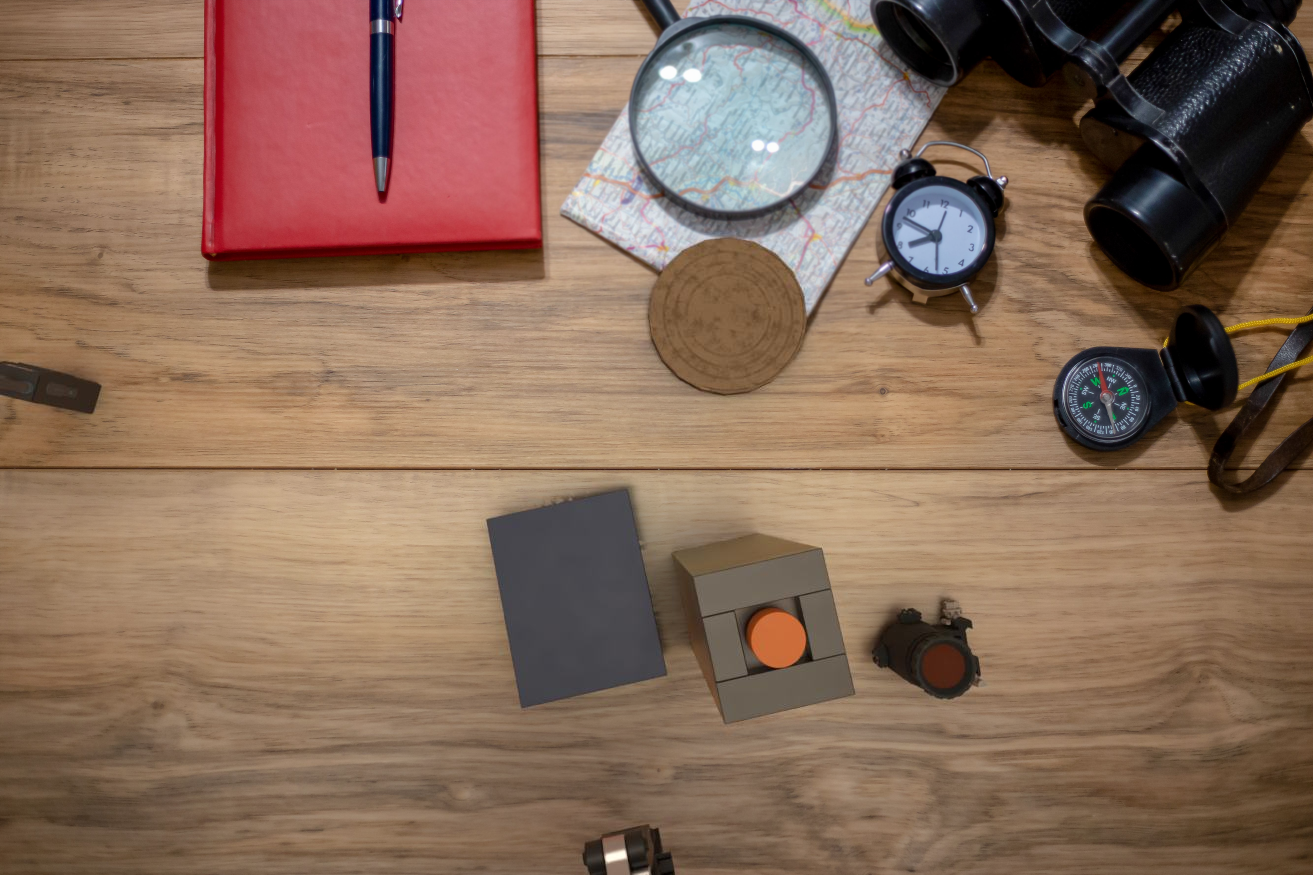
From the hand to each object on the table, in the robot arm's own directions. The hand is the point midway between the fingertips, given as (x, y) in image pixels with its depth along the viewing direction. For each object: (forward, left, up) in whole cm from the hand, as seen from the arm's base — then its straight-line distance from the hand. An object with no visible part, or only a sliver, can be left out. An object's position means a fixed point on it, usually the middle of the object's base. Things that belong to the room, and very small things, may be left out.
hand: (638, 845), depth 51 cm
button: (+9, -11, -7) cm, 16 cm away
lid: (+13, +3, -26) cm, 29 cm away
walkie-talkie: (+42, +48, -36) cm, 73 cm away
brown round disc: (+36, -17, -36) cm, 54 cm away
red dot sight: (0, -28, -36) cm, 46 cm away
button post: (+9, -11, -36) cm, 39 cm away
